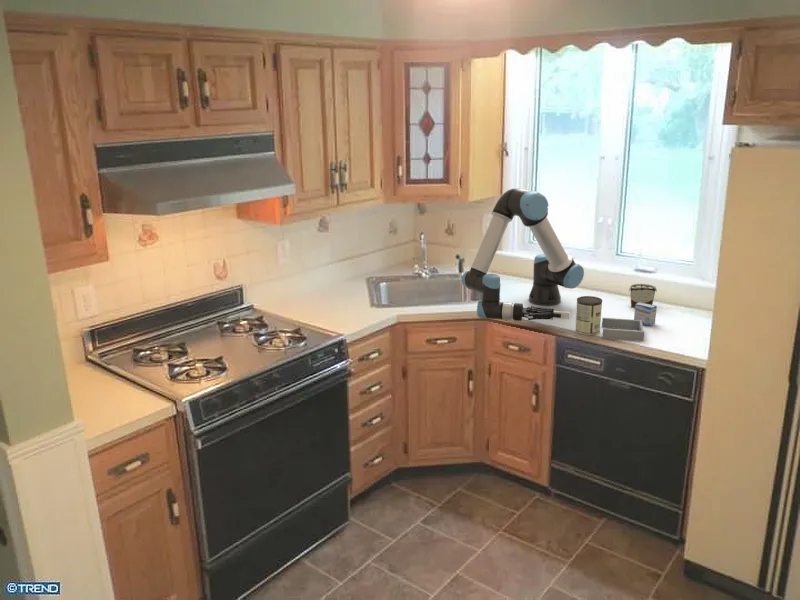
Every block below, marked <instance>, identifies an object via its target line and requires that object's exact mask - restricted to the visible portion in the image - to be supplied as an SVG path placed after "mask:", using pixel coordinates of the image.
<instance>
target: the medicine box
mask: <svg viewBox="0 0 800 600" xmlns="http://www.w3.org/2000/svg"><path fill="white" fill-rule="evenodd" d="M656 316H657V305H654V304H652V305H650V304H646V303H641V302H639V303H637V304H635V308H634V316H633V320H642V324H643V326H646V327H652V326H654V325H655V324H656Z"/></svg>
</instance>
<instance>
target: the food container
mask: <svg viewBox="0 0 800 600" xmlns="http://www.w3.org/2000/svg"><path fill="white" fill-rule="evenodd" d="M657 290H658V289H657V288H656V286H654V285H652V284H648V283H647V284H645V283H635V284H631V285H630V286H629V290H628V292H630V308H634V309H635V304H637V303H639V302H641V303H646V304H650V305H654V300H655V299H654V298H655V295H656V293H657Z"/></svg>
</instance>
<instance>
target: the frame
mask: <svg viewBox="0 0 800 600" xmlns="http://www.w3.org/2000/svg"><path fill="white" fill-rule="evenodd" d="M601 321H602V322H601V328H602V335H601V337H602V339H607V340H608V339H609V340H620V341H622V340H623V341H637V342H644V337H645V330H644V325H643V324H642V320H634V319H629V318H628V319H627V318H617V317H616V318H614V317H601Z"/></svg>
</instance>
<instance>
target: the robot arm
mask: <svg viewBox="0 0 800 600" xmlns="http://www.w3.org/2000/svg"><path fill="white" fill-rule="evenodd" d="M548 207H549V202H548V199H547V197H546V196H545V194H543V193H541V192H538V191H535V190H528V189H522V188H519V187H518V188H516V187H515V188H511V189H509V190H506V191H505V192H504V193H503V194H502V195H501V196H500V197H499V199H498V200H497V202H496V203H495V205H494V207H493V209H492V212H491V214H492V218H491V219H490V221H489V224H488V227H487V229H486V231H485V234H484V236H483V239H482V240H481V242H480V245H479V248H478V250H477V253H476V255H475V257H474V260H473V261H472V264H471V267H470V269H469V270H467V271H465V272H464V273H463V274H462V276H461V284H462V285H463V286H464V287H465V288H466V289H469V290H472V291H474V292H477V293H479V294H482V297H481V298H482V299H481V300H479V301H478V302H477V306H476V315H477V317H478V318H482V319H487V320H489V319H490V320H491V319H492V320H503V321H504V320H505V322H506V321H512V320H513V321H519V322H521V321H522V320H523V318H526V319H527V320H528V321H532V320H533V321H534V320H542V321H543V320H550V321H553V320H554V319H565V320H569V319H570V311H564V310H563V311H562V310H561V311H560V310H555V309H554V308H547V307H541V306H554V305H558V304H560V303H561V300H562V299H561V298H562V297H561V296H562V295H561V293H560V292H561V291H560V289H559V286H560V287H563V288H565V289H570V290H571V289H576V288H577V287H579V285H580V284H581V283H582V281H583V280H584V276H585V270H584V267H583V266H582V265H581V264H579V263H576V262H575V261H574V258H573V257H572V255H571V254H569V253H566V251H565V249H564V247H563V245H562V243H561V242H560V239H559V238H558V236H557V234H556V232H555V230H554V228H553V227H552V224H551V223H550V221H549V219H548V215H549V208H548ZM515 216H517V217H519V218H520V220H521V223H522V225H523V226H524V227H527V228H529V229H530V231H531V233H532V235H533V237H534V238H535V241H536V242H537V244H538V246H539V247H540V249H541V251H542V253H541V254H537V255H535V257H534V261H533V277H532V278H533V282H532V287H531V288H530V289H531V290H530V292H529V295H528V301H529V302H530V303H531V304H534V305H537V306H534V305H530V306H527V307H524V305H523V303H519V302H518V303H517V302H514V303H513V302H502V301H501V300H500V299H501V298H500V297H501V296H500V295H501V277H500V275H498V274H497V273H488V272H489V269H490V268H491V267H490V266H491V264H492V262H493V261H494V258H495V255H496V253H497V251H498V248H499V246H500V243H501V241H502V239H503V236H504V234H505V232H506V229H507V227H508V224H509V223H510V222H513V219H514V218H515ZM538 305H539V306H540V307H539V306H538Z"/></svg>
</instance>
